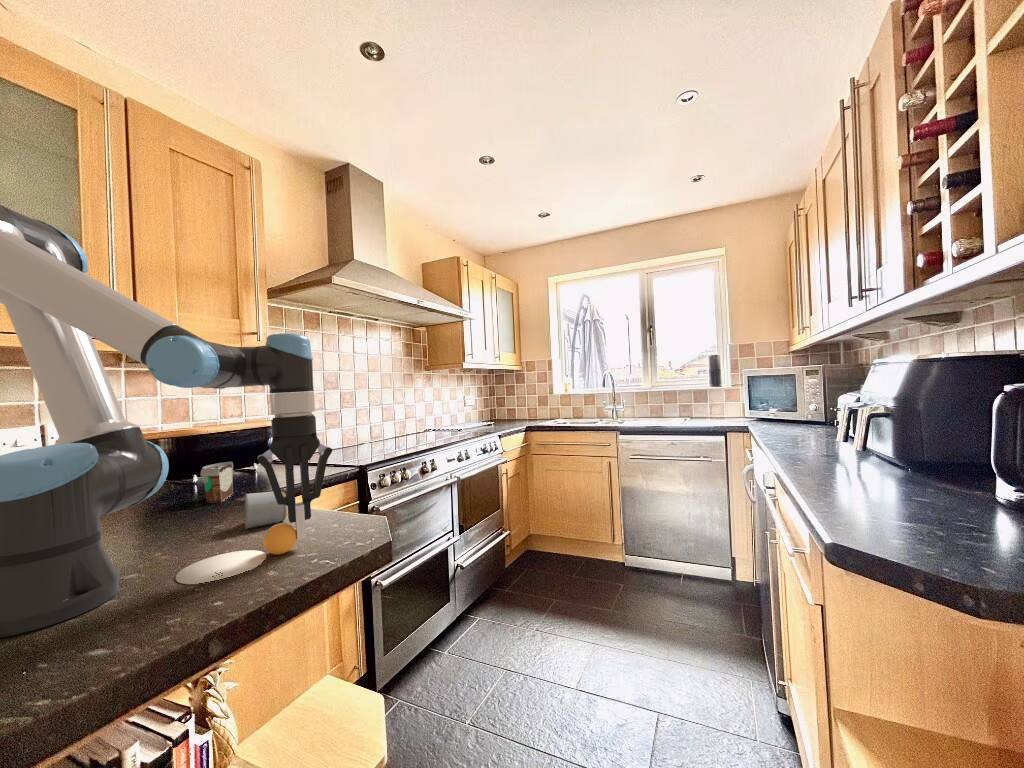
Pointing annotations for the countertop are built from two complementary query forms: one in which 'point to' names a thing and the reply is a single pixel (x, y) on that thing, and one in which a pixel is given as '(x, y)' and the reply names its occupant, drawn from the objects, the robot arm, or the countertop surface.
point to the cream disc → (220, 566)
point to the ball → (279, 538)
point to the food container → (218, 481)
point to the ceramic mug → (263, 509)
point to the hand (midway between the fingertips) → (300, 537)
